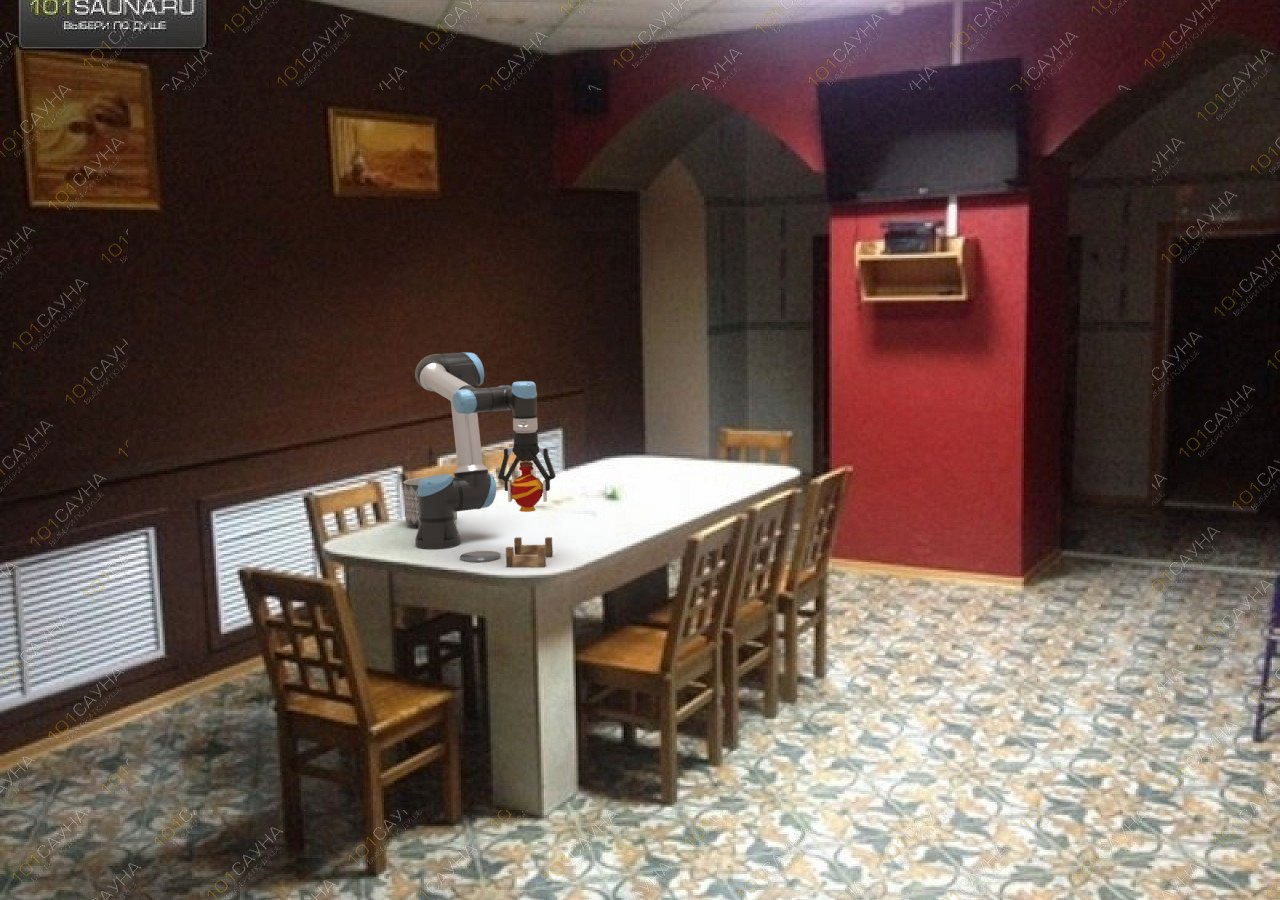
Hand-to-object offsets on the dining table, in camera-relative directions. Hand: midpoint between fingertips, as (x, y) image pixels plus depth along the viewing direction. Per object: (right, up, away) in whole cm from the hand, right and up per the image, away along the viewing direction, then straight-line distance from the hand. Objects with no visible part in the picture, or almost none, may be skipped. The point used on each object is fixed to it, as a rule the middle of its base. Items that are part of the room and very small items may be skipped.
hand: (527, 501), depth 367 cm
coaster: (-16, -19, +9) cm, 26 cm away
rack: (+1, -19, +3) cm, 19 cm away
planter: (-42, -12, +65) cm, 78 cm away
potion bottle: (0, -3, 0) cm, 3 cm away
